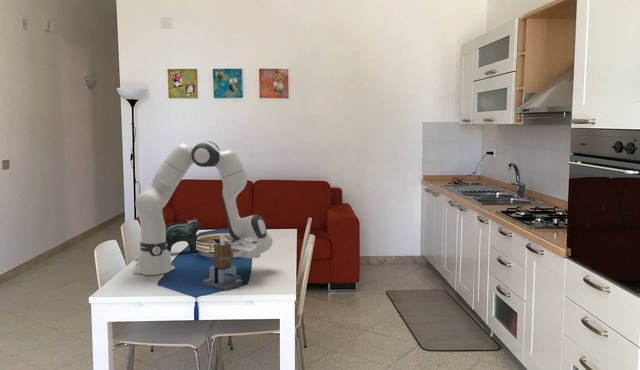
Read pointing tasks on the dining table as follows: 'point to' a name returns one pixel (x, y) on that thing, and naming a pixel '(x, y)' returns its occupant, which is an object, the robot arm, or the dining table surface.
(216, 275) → the vise
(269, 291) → the dining table surface
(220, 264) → the walnut sleeve
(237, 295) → the dining table surface
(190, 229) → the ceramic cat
